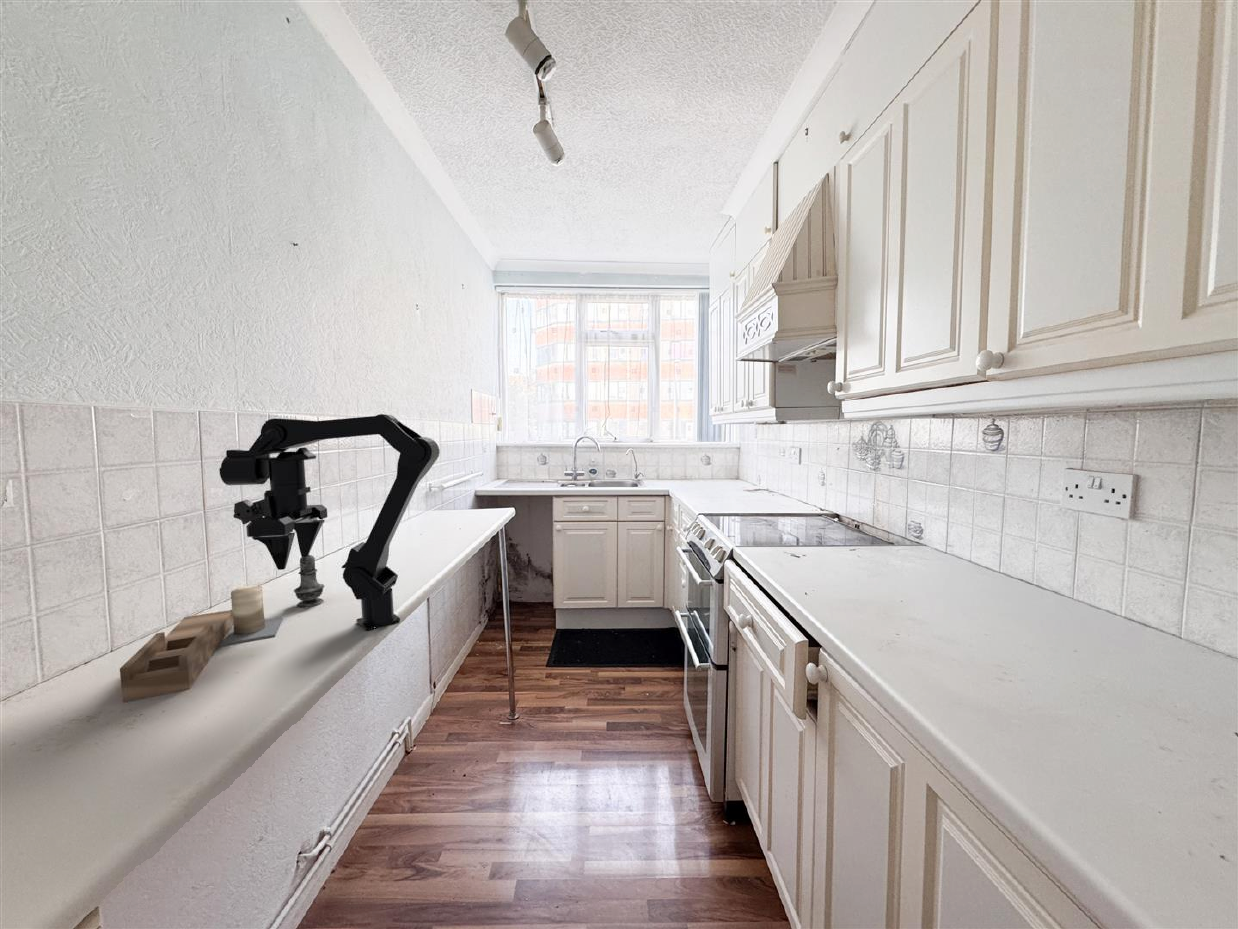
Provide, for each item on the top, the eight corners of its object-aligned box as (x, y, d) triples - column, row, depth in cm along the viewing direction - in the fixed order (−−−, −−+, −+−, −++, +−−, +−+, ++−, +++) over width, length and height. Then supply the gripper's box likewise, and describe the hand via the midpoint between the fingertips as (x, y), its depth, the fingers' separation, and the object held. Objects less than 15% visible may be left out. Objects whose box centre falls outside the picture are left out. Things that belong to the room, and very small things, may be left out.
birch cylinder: (266, 630, 94) (263, 589, 94) (235, 637, 91) (232, 596, 90) (263, 622, 98) (260, 583, 97) (232, 629, 95) (229, 589, 94)
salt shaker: (331, 599, 113) (328, 548, 112) (312, 608, 107) (309, 554, 106) (307, 598, 113) (304, 547, 112) (288, 608, 107) (284, 554, 106)
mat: (234, 626, 98) (234, 624, 98) (283, 618, 101) (282, 616, 101) (221, 645, 89) (221, 643, 89) (275, 636, 92) (274, 634, 92)
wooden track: (186, 632, 95) (184, 607, 95) (234, 624, 99) (232, 600, 98) (122, 702, 70) (119, 668, 70) (189, 688, 74) (186, 656, 73)
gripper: (268, 480, 102) (274, 553, 103) (209, 491, 84) (216, 580, 85) (326, 478, 104) (330, 550, 105) (280, 488, 86) (286, 576, 87)
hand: (293, 562), depth 95 cm, fingers open, 9 cm apart
